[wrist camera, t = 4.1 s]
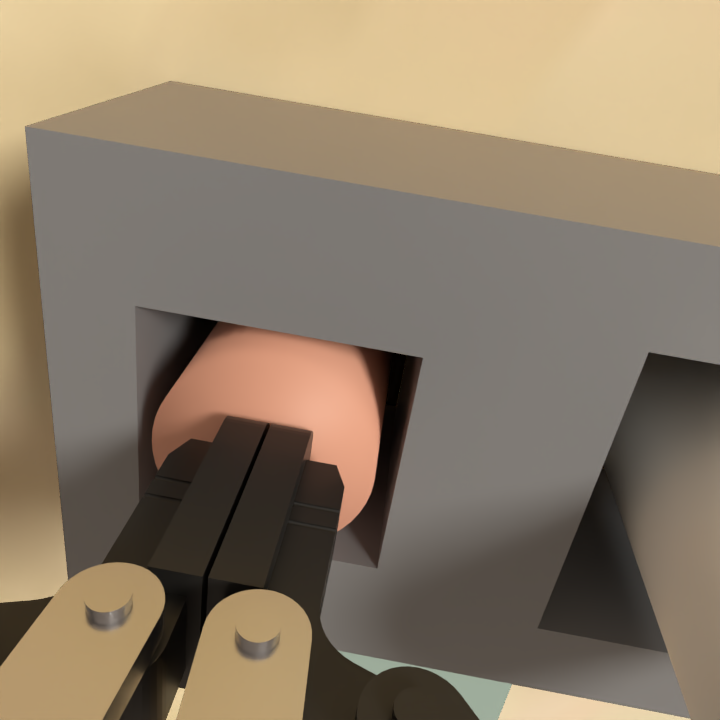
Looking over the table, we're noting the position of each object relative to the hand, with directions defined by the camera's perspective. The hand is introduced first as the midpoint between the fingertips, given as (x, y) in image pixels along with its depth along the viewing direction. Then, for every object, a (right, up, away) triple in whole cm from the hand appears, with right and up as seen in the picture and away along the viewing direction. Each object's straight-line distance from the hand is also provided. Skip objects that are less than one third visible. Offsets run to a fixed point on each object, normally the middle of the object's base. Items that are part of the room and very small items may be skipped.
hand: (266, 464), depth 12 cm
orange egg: (+1, +3, +5) cm, 6 cm away
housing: (+6, +2, +5) cm, 8 cm away
